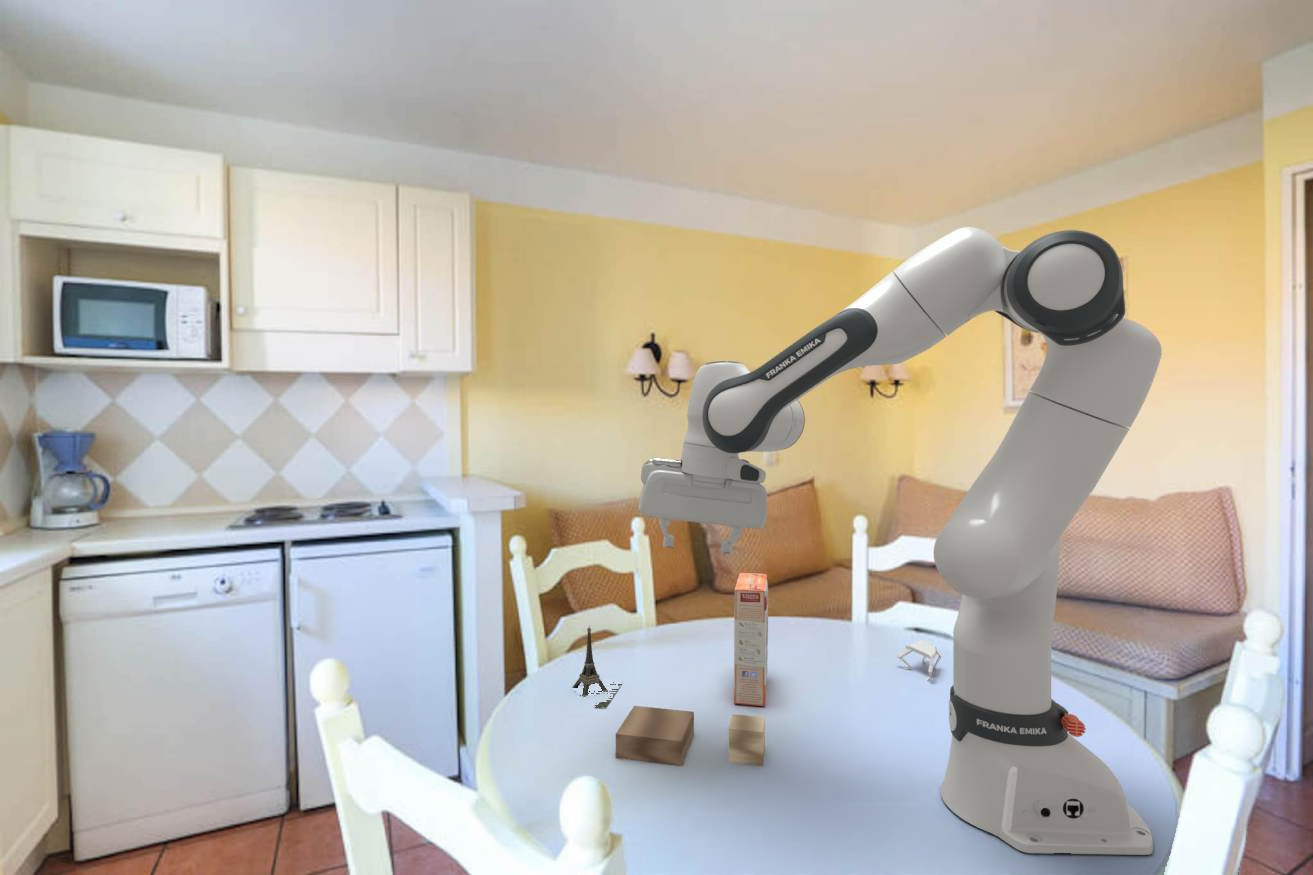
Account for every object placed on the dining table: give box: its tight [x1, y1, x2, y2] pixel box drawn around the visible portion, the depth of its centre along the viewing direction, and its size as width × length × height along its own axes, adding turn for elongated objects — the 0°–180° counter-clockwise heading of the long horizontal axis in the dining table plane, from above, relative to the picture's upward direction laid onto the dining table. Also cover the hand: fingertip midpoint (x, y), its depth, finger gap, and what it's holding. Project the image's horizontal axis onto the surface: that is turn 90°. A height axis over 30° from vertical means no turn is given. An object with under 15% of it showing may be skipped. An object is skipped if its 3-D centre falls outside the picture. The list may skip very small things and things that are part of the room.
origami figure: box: [896, 639, 942, 682], centre depth 126 cm, size 12×8×5 cm
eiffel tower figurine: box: [571, 626, 623, 709], centre depth 118 cm, size 15×10×13 cm
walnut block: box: [615, 705, 695, 767], centre depth 96 cm, size 10×10×4 cm
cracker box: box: [733, 572, 769, 707], centre depth 117 cm, size 14×6×21 cm, turn 168°
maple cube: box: [728, 713, 766, 767], centre depth 93 cm, size 5×5×5 cm
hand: (697, 550), depth 99 cm, fingers open, 8 cm apart
